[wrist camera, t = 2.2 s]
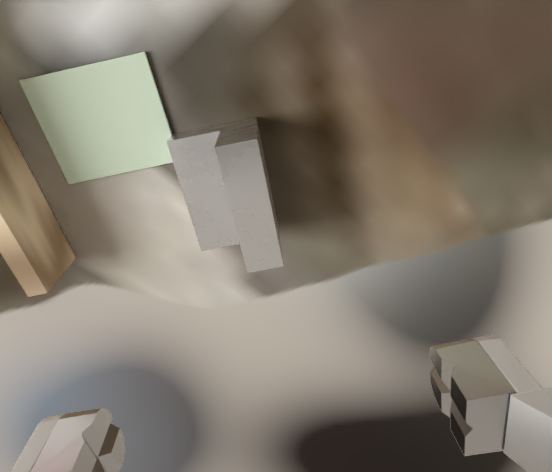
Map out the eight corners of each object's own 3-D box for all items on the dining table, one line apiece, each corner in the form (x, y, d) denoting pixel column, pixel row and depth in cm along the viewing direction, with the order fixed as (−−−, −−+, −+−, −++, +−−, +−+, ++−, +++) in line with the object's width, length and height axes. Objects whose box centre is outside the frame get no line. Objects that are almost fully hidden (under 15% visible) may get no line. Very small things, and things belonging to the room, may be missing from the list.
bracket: (173, 133, 22) (150, 159, 17) (256, 116, 22) (257, 138, 17) (205, 236, 26) (193, 282, 21) (277, 222, 25) (283, 266, 21)
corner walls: (-102, -31, 18) (-189, -47, 14) (218, -109, 17) (209, -147, 14) (59, 261, 26) (28, 296, 22) (285, 215, 25) (290, 244, 21)
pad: (20, 80, 20) (18, 80, 20) (145, 51, 20) (144, 51, 20) (70, 183, 23) (68, 184, 23) (180, 160, 23) (180, 160, 23)
